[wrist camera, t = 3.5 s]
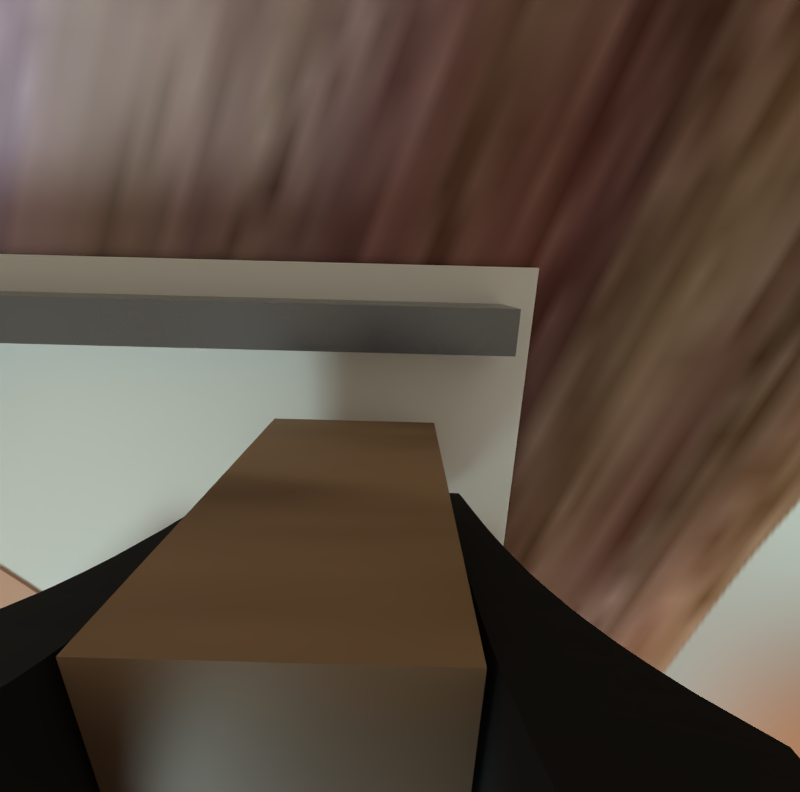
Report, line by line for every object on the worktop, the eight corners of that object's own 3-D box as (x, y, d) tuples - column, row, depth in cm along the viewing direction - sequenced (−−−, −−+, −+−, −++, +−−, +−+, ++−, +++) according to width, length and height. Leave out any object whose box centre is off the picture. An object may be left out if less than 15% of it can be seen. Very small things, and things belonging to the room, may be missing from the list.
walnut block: (426, 554, 12) (456, 905, 5) (284, 551, 12) (135, 897, 5) (434, 422, 11) (487, 668, 4) (274, 418, 11) (55, 655, 4)
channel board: (480, 690, 17) (483, 707, 16) (-119, 674, 17) (-141, 690, 16) (532, 268, 12) (540, 267, 11) (-347, 245, 12) (-392, 243, 11)
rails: (461, 694, 16) (468, 750, 14) (-118, 679, 16) (-187, 733, 14) (501, 300, 11) (521, 305, 9) (-331, 279, 11) (-481, 278, 9)
